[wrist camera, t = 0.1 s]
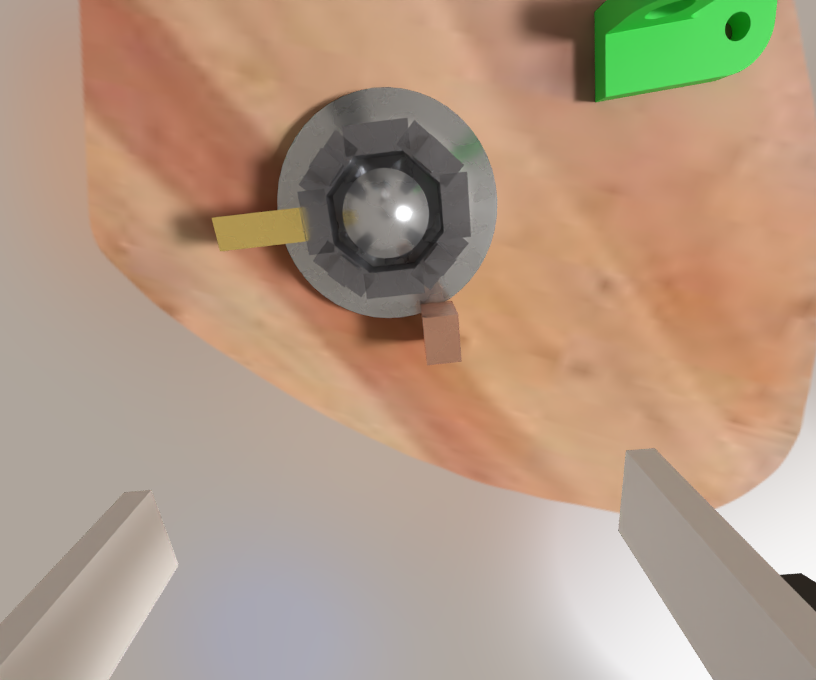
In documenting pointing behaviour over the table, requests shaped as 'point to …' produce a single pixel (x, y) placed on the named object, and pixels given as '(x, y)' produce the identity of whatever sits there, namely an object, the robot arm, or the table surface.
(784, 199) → the table surface
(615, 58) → the mechanical part
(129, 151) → the table surface
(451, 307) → the housing
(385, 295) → the grey ring yellow handle
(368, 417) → the table surface
